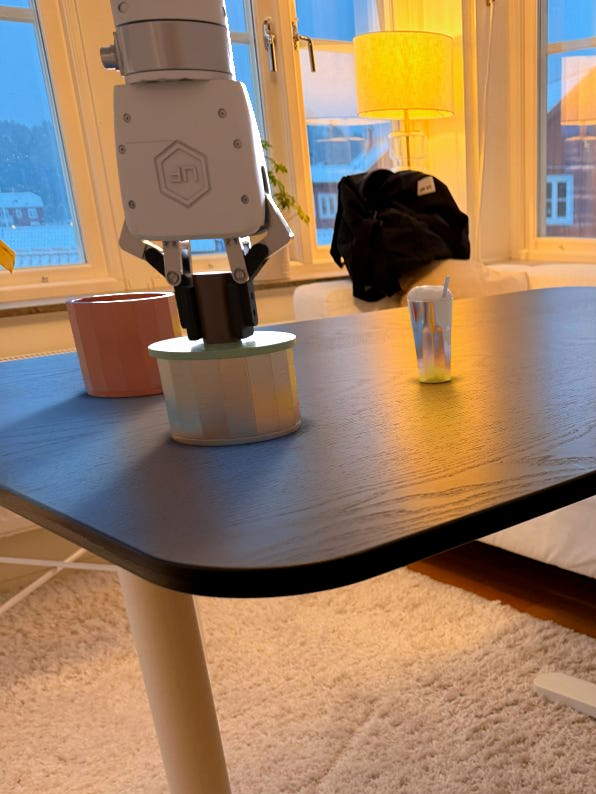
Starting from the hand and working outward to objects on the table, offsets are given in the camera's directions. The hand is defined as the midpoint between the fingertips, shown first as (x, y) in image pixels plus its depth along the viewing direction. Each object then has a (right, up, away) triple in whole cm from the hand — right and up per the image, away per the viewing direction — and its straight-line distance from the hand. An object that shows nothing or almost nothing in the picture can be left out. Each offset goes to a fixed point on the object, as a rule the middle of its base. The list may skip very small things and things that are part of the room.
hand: (221, 335), depth 70 cm
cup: (-16, +3, +24) cm, 29 cm away
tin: (0, -7, +3) cm, 8 cm away
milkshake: (+16, +2, +21) cm, 26 cm away
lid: (0, -1, 0) cm, 1 cm away
